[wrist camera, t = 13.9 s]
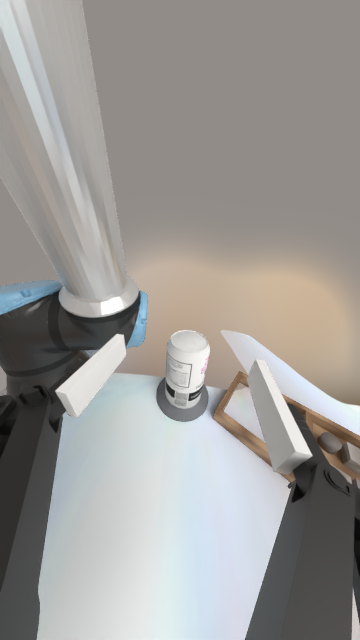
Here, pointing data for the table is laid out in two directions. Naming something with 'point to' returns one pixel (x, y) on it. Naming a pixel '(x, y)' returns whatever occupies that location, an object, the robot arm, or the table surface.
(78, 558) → the table surface
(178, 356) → the supplement can
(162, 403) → the coaster
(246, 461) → the table surface
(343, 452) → the parts tray
